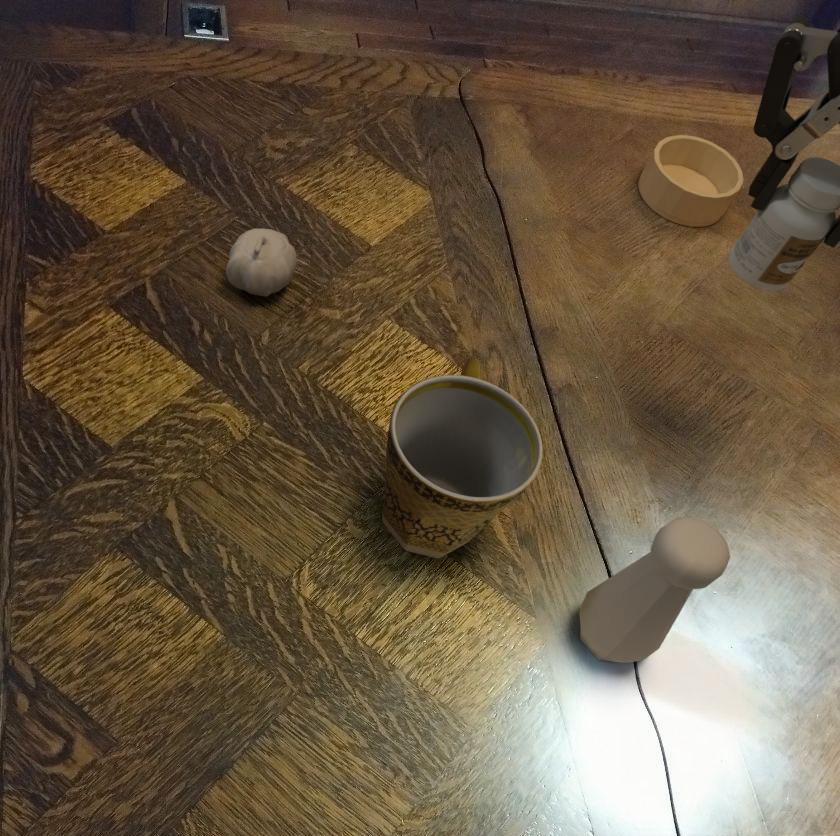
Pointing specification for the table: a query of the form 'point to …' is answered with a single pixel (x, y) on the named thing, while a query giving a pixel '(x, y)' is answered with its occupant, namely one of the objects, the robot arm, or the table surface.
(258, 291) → the garlic
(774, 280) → the pill bottle
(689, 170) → the tan round bowl
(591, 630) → the salt shaker
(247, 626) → the table surface
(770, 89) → the robot arm
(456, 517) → the ceramic cup
